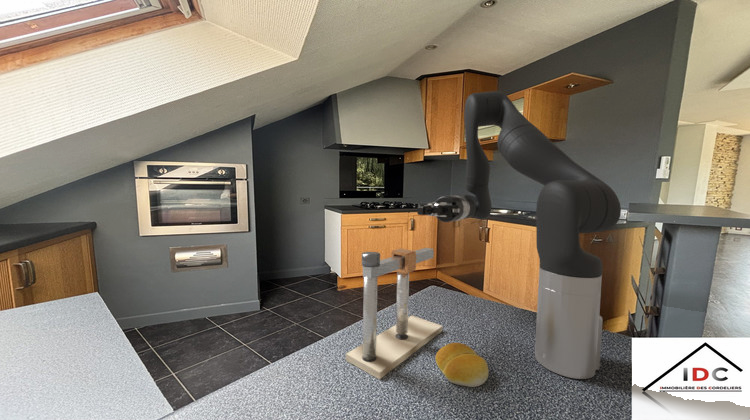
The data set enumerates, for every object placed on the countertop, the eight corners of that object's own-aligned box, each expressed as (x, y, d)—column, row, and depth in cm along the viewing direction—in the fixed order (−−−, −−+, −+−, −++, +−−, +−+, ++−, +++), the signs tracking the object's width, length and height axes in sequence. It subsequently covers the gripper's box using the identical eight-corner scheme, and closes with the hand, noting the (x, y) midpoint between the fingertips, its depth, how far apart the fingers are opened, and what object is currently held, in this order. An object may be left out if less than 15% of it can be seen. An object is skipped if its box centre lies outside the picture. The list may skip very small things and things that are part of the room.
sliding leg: (398, 328, 61) (399, 248, 60) (414, 335, 58) (416, 251, 57) (389, 334, 59) (391, 250, 58) (405, 340, 56) (407, 253, 55)
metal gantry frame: (421, 317, 68) (423, 238, 66) (433, 321, 65) (436, 240, 64) (356, 358, 51) (358, 253, 50) (370, 365, 49) (371, 256, 47)
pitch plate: (411, 320, 69) (412, 314, 69) (442, 331, 64) (442, 325, 64) (345, 360, 52) (345, 353, 52) (379, 379, 47) (379, 371, 47)
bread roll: (455, 394, 44) (456, 369, 44) (429, 360, 53) (429, 340, 52) (500, 385, 46) (501, 361, 46) (468, 354, 55) (468, 334, 55)
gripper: (432, 195, 88) (398, 195, 75) (474, 195, 79) (444, 195, 66) (431, 219, 88) (398, 223, 75) (473, 222, 80) (444, 228, 67)
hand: (420, 210), depth 71 cm, fingers closed
